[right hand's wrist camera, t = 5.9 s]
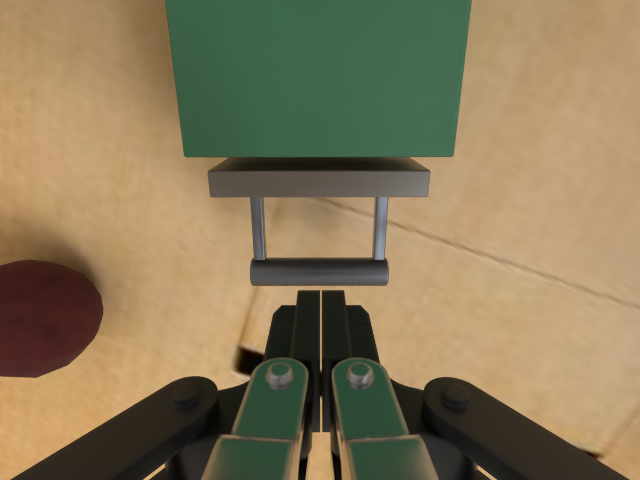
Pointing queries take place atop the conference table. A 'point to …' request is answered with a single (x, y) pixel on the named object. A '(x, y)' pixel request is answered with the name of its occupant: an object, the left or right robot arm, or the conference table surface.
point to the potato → (44, 317)
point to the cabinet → (318, 76)
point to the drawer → (319, 181)
